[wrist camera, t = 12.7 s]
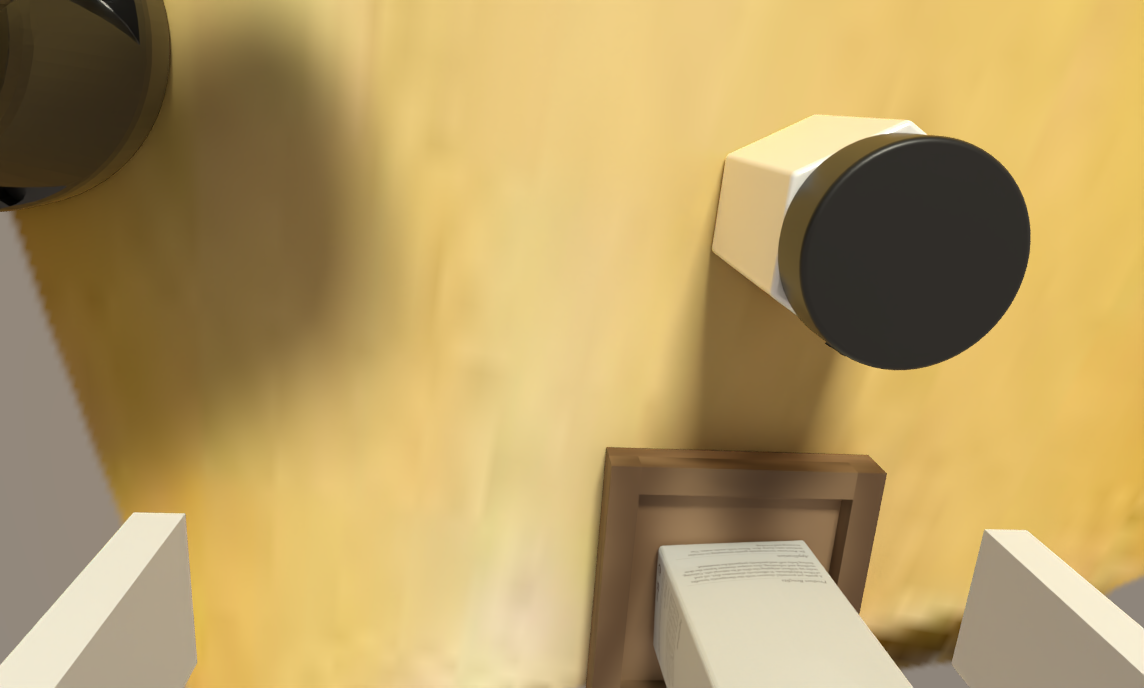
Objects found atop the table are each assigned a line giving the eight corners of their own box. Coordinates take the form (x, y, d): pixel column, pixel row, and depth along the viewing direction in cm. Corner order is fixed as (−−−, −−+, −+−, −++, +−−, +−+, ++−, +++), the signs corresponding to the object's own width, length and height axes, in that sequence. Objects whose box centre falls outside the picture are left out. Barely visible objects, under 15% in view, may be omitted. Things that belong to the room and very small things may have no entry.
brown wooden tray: (585, 690, 46) (589, 718, 44) (606, 447, 42) (611, 465, 40) (824, 690, 47) (838, 718, 45) (868, 455, 43) (886, 473, 41)
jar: (740, 324, 40) (833, 414, 29) (680, 171, 38) (755, 205, 26) (908, 249, 40) (1070, 310, 28) (858, 90, 37) (1012, 87, 26)
